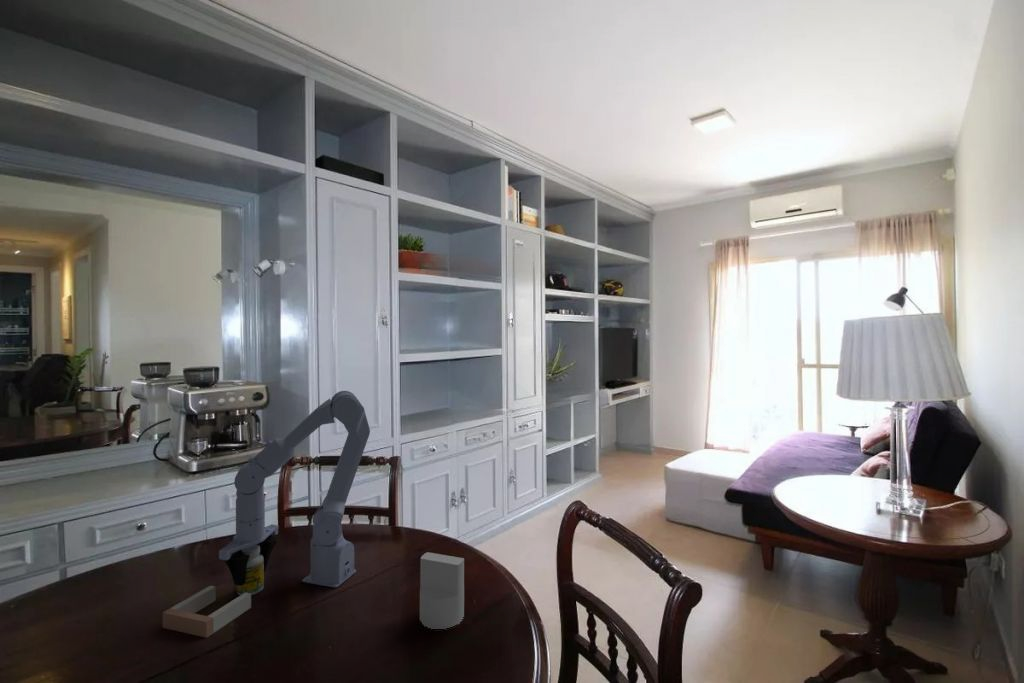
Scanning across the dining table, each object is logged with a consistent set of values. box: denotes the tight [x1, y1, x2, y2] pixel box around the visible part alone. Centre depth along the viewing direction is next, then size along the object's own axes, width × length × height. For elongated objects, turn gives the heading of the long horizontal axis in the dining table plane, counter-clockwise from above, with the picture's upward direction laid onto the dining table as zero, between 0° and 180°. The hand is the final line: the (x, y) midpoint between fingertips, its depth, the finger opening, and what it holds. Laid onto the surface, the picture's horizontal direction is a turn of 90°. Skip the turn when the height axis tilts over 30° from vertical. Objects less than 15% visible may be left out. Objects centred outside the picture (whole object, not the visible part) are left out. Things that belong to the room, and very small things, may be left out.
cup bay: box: [162, 585, 252, 638], centre depth 96 cm, size 11×10×3 cm
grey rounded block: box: [419, 552, 465, 630], centre depth 97 cm, size 9×9×12 cm
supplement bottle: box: [236, 545, 265, 596], centre depth 107 cm, size 5×5×10 cm
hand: (250, 577), depth 107 cm, fingers open, 5 cm apart
